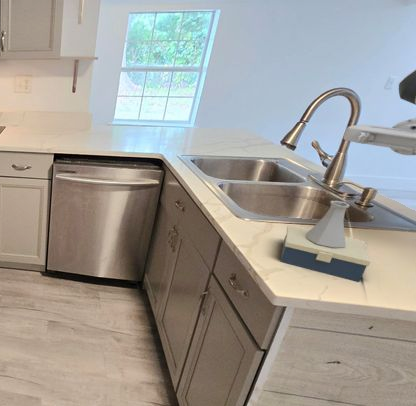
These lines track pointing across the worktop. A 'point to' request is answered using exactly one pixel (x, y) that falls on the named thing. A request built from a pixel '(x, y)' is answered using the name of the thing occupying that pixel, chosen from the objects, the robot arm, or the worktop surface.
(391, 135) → the robot arm
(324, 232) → the flask
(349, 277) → the lunchbox
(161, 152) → the worktop surface
